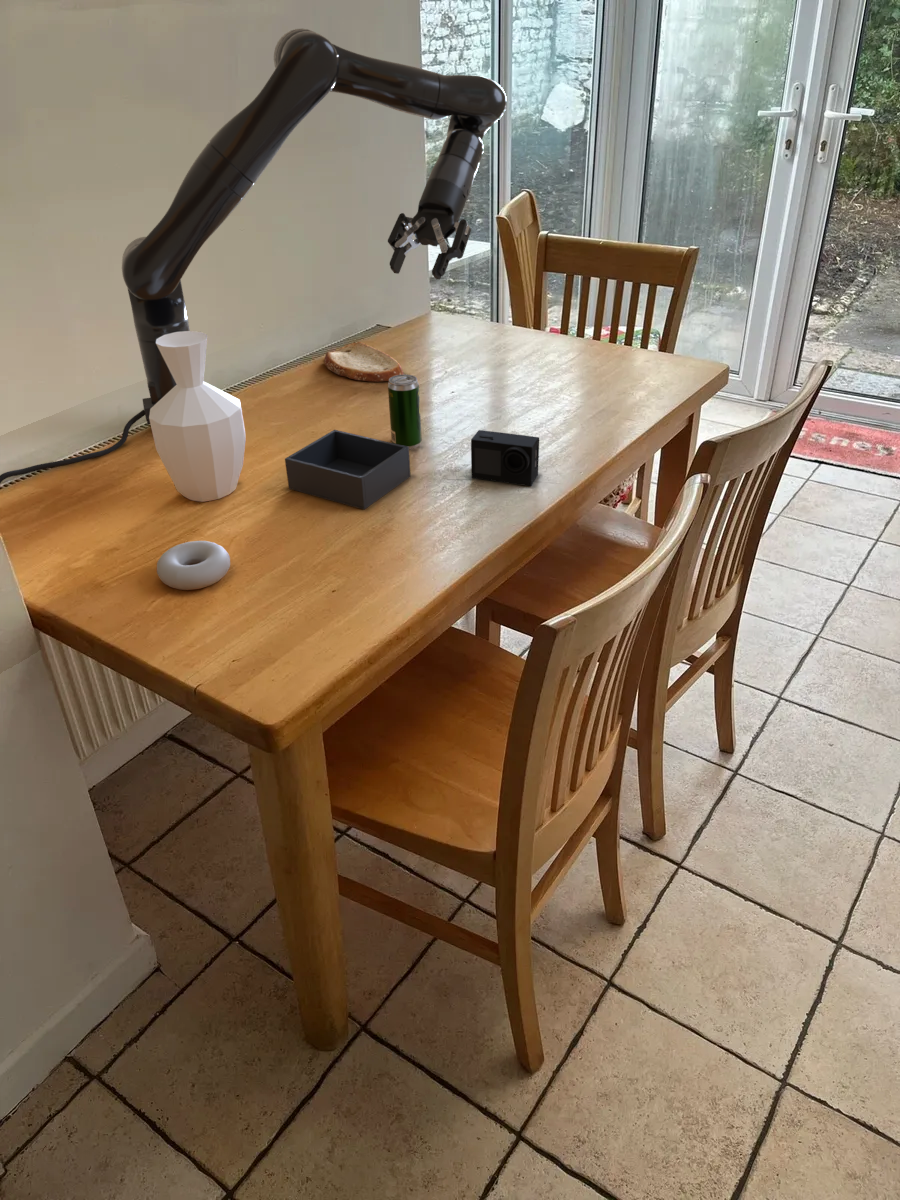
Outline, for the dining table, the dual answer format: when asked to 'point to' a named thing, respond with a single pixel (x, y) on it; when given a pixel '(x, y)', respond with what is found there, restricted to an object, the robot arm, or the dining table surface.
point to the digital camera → (504, 457)
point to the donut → (193, 565)
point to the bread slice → (362, 363)
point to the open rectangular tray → (348, 468)
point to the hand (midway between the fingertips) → (414, 273)
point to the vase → (197, 423)
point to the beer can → (405, 410)
